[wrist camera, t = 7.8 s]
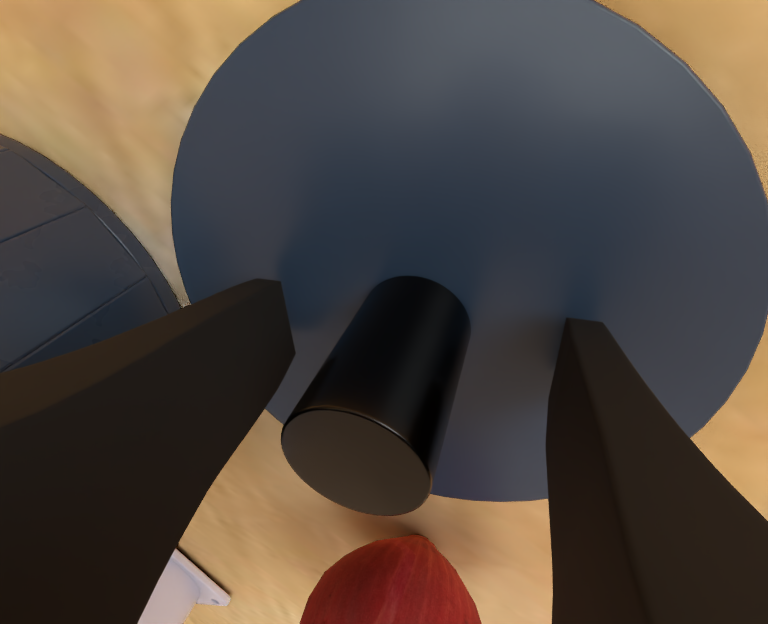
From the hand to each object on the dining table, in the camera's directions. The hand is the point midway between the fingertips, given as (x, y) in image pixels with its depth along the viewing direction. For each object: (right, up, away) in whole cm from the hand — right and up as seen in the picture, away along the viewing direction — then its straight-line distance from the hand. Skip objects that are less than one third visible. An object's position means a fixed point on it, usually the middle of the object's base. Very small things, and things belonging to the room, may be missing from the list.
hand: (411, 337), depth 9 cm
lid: (0, +1, +1) cm, 1 cm away
